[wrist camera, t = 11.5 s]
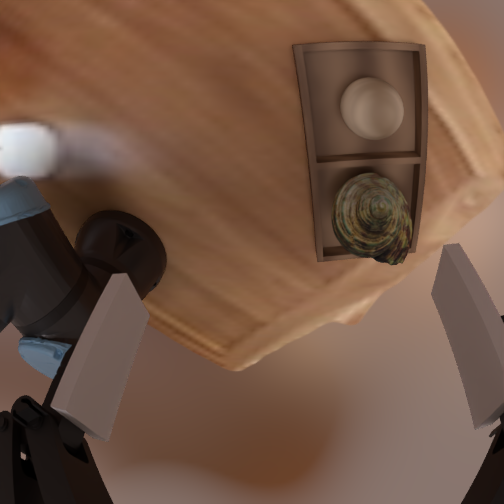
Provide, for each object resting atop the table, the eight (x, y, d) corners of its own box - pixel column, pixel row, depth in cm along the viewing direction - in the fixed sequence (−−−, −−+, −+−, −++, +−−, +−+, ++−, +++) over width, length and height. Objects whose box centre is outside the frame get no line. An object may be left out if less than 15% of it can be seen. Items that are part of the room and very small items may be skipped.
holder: (315, 249, 44) (317, 262, 42) (292, 45, 28) (293, 45, 26) (409, 240, 42) (415, 252, 40) (415, 43, 26) (425, 44, 24)
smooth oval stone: (337, 131, 33) (349, 150, 28) (332, 74, 29) (344, 82, 24) (392, 128, 32) (413, 147, 27) (390, 73, 28) (412, 82, 23)
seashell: (321, 239, 42) (329, 292, 35) (328, 160, 35) (343, 201, 28) (393, 241, 42) (414, 291, 34) (411, 166, 35) (444, 208, 27)
